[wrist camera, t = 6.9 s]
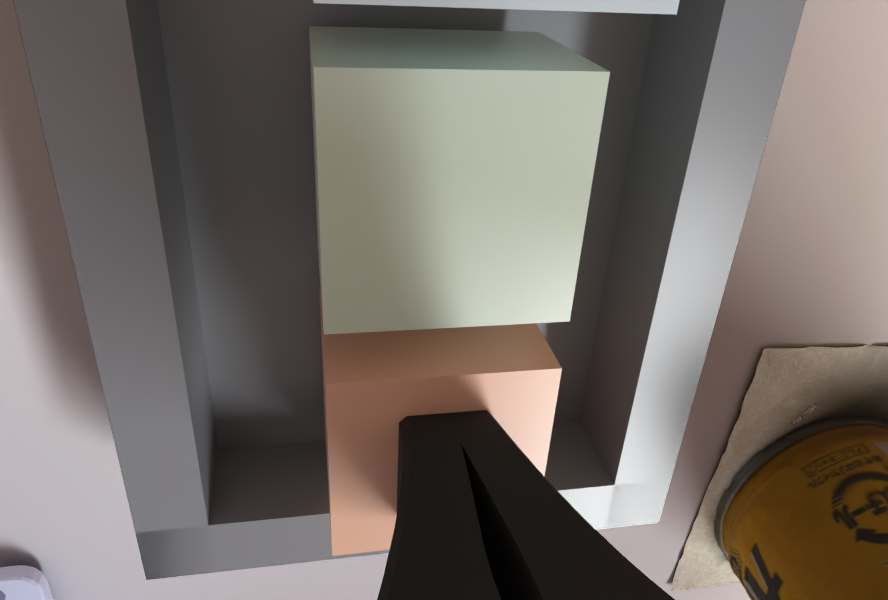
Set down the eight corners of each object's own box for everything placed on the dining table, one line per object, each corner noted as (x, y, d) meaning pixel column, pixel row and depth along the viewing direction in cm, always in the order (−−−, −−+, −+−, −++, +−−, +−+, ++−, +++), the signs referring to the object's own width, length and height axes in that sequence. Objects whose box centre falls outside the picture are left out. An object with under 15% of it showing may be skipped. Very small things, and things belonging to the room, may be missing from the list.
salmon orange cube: (325, 440, 14) (331, 556, 11) (319, 287, 12) (325, 384, 10) (494, 426, 14) (535, 533, 12) (511, 279, 13) (562, 367, 10)
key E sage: (317, 244, 12) (323, 334, 9) (308, 25, 10) (313, 66, 8) (516, 237, 12) (569, 321, 10) (539, 32, 11) (609, 71, 8)
